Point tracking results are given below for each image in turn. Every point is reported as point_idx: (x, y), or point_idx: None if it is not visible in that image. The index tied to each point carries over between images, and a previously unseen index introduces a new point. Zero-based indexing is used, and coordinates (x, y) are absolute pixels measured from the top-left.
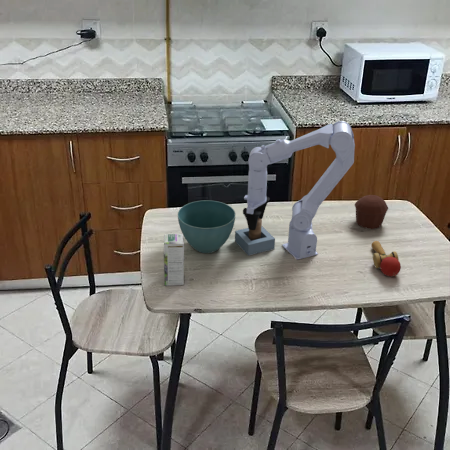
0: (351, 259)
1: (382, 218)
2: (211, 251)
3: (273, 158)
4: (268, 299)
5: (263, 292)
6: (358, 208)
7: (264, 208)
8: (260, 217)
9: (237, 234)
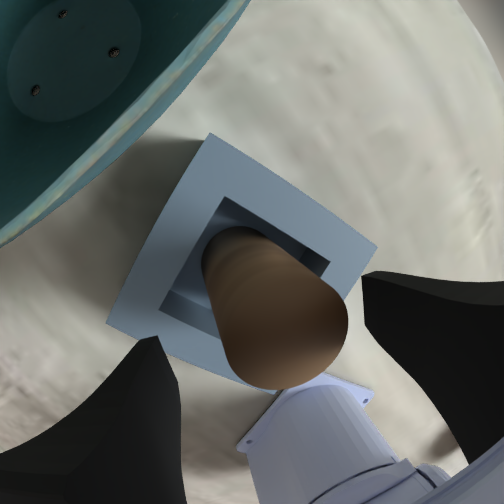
0: None
1: None
2: (13, 123)
3: None
4: (5, 447)
5: (9, 431)
6: None
7: (431, 398)
8: (372, 320)
9: (187, 168)
